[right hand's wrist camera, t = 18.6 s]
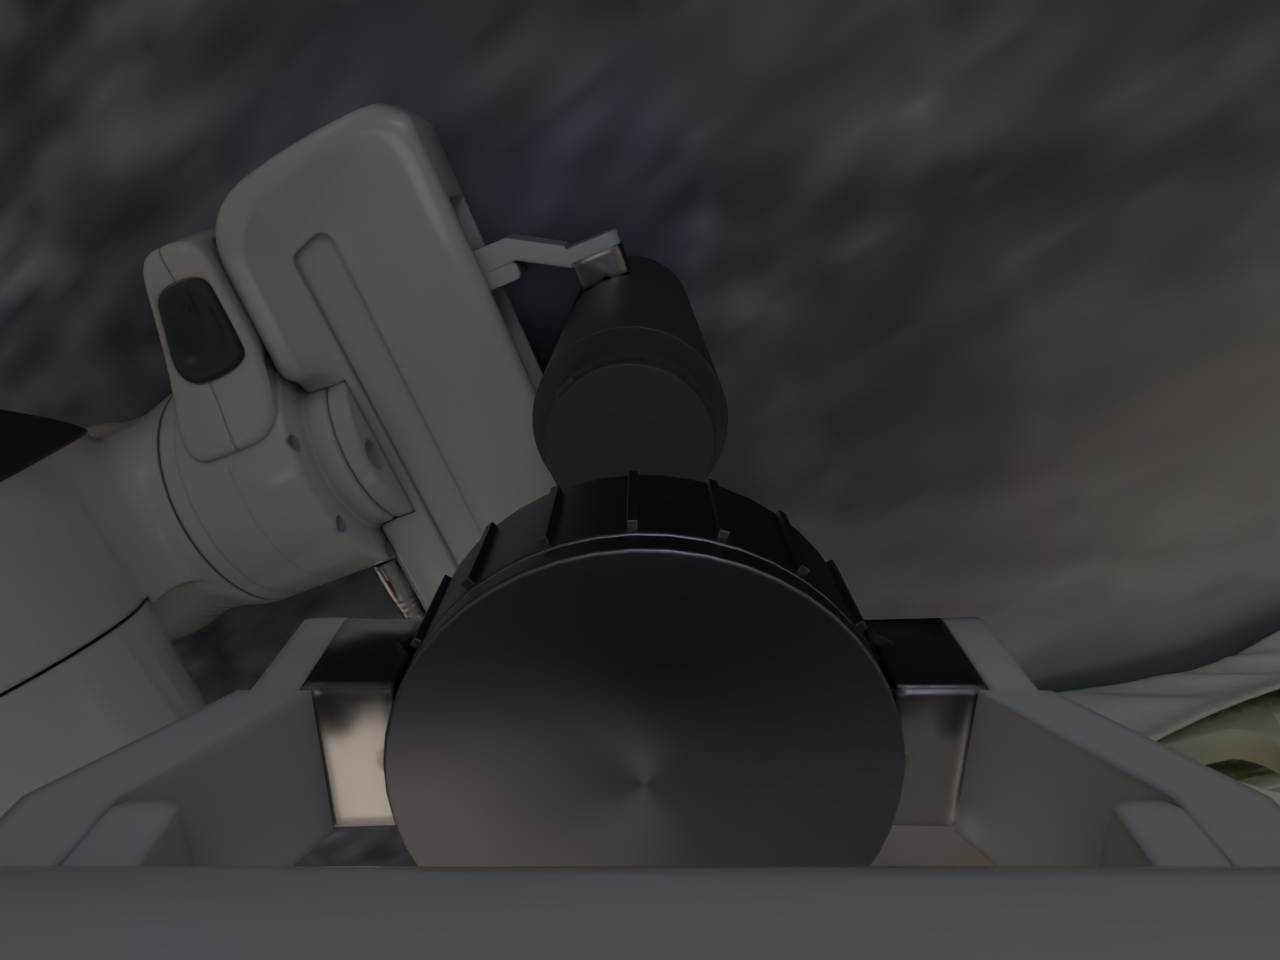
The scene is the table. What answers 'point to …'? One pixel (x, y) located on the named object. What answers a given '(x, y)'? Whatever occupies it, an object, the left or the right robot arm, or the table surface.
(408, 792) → the lid
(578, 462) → the black cylinder
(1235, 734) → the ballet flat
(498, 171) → the table surface
